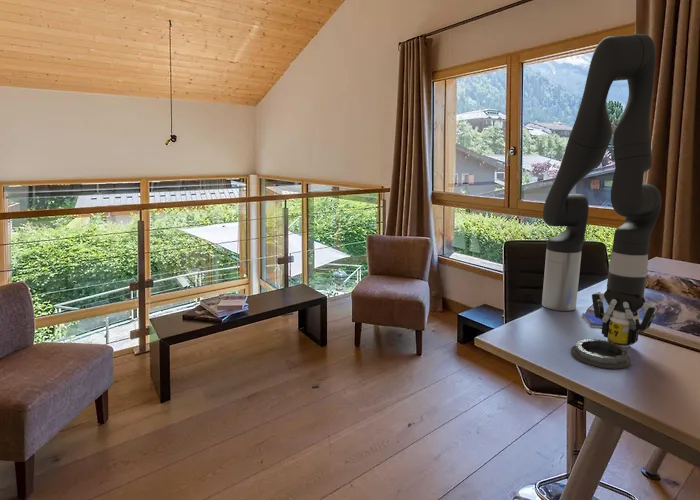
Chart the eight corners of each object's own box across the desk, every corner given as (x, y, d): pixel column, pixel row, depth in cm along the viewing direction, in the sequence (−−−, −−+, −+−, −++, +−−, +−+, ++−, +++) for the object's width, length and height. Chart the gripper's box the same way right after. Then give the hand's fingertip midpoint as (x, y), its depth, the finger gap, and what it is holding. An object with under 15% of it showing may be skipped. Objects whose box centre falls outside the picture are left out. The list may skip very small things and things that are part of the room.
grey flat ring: (563, 344, 107) (564, 336, 107) (617, 347, 106) (618, 338, 105) (581, 368, 96) (582, 359, 95) (642, 371, 94) (643, 362, 94)
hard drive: (590, 323, 118) (643, 327, 115) (582, 312, 125) (632, 315, 123) (589, 329, 118) (642, 333, 115) (581, 317, 126) (631, 321, 123)
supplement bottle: (602, 340, 110) (606, 307, 108) (621, 339, 110) (625, 306, 108) (615, 348, 105) (619, 314, 103) (634, 347, 105) (639, 313, 104)
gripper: (587, 267, 107) (580, 334, 111) (656, 281, 96) (645, 355, 99) (602, 263, 111) (595, 327, 115) (669, 275, 100) (659, 346, 104)
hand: (618, 339), depth 107 cm, fingers closed on supplement bottle, 4 cm apart
